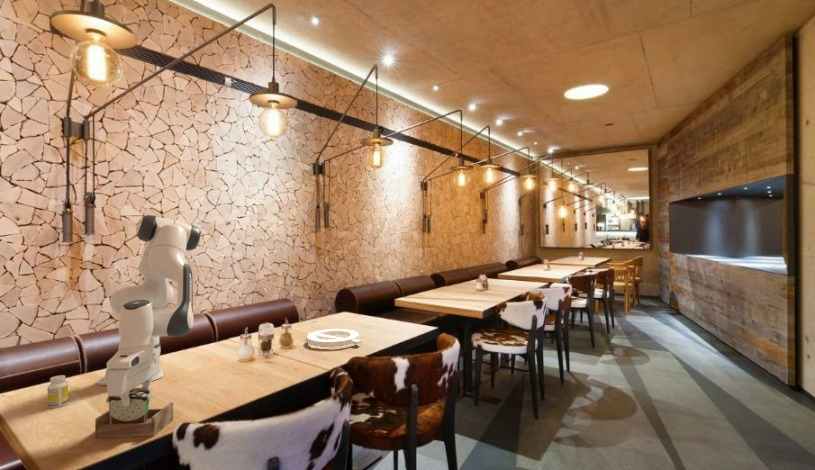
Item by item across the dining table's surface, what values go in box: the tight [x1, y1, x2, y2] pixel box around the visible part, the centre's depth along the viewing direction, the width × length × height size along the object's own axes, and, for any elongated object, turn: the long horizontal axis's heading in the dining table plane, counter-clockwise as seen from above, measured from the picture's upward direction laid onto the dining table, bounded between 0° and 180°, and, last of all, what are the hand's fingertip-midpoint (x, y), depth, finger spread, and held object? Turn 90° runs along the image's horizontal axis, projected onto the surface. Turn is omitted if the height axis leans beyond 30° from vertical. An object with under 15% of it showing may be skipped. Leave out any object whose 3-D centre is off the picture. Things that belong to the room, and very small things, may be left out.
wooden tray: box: [94, 402, 174, 439], centre depth 120 cm, size 10×17×6 cm, turn 93°
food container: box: [105, 387, 153, 424], centre depth 119 cm, size 12×6×10 cm, turn 94°
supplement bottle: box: [46, 374, 69, 409], centre depth 136 cm, size 5×5×10 cm
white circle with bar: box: [306, 328, 362, 347], centre depth 217 cm, size 28×28×5 cm
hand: (136, 399), depth 120 cm, fingers open, 7 cm apart
